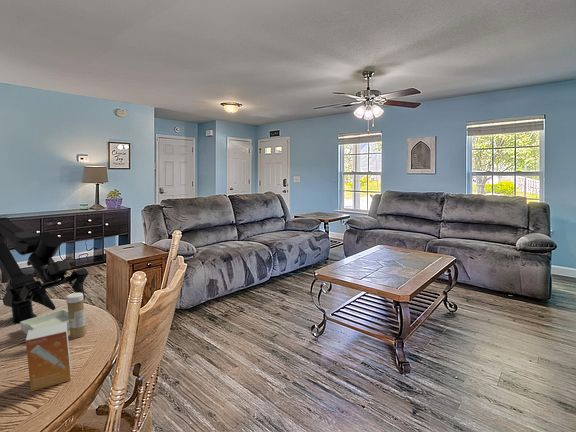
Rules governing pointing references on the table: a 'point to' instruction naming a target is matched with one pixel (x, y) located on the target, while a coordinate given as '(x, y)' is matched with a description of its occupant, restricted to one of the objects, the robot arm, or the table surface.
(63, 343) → the small box
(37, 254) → the robot arm
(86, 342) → the table surface
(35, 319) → the tray
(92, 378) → the table surface
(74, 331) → the sprinkles bottle
